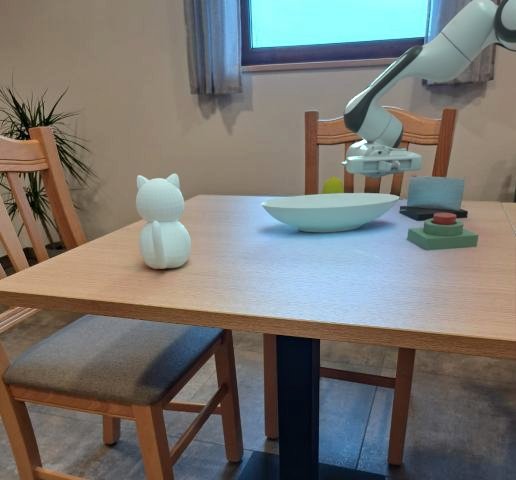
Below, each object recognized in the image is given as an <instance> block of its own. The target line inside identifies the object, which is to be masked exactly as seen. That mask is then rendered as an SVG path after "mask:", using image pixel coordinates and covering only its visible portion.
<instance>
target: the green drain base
mask: <svg viewBox="0 0 516 480" xmlns="http://www.w3.org/2000/svg"><path fill="white" fill-rule="evenodd" d="M464 223H465V222H464V221H462V220H459V219H456V221H455V224H454V225H439V224H434V223H433V218H432V219H427V220H425V221H423V227H413V228H408V229H407V239H406V240H407V241H409V242H411V243H413V244H414V245H416V246H418V247H419V248H421V249H422V250H424V251H437V250H449V249H461V248H464V249H465V248H474V247H477V245H478V241H479V234H477V233H476V232H473V231H470V230H468V229H466V228H464Z"/></svg>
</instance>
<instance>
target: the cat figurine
mask: <svg viewBox="0 0 516 480" xmlns="http://www.w3.org/2000/svg"><path fill="white" fill-rule="evenodd" d="M180 187H181V185H180V177H179V176H178V174H177V173H172V174H170V175H169V176H167V177H166V178H161V177H157V178H156V177H155V178H152V179H148V178H146V177H145V176H143V175H140V174H139V175H137V176H136V188H137V193H136V198H135V208H136V211H137V213H138V215H139V216H140V217H141V218H142V219H143V220H144V221H145V222H146V223H145V224H144V225H143V226H142V229H141V230H140V232H139V236H138V249H139V253H140V256H141V258H142V260H143V262H145V264H146V265H147V266H148V267H150V268H151V269H154V270H164V269H176V268H181V267H182V266H183V265H184V264H185V263H187V261H188V259H189V257H190V255H191V250H192V239H191V236H190V234H189V232H188V230H187V229H186V227H185V226H184V225H183V224H182V223H181V222H180V221H178V220H179V219H180V218H181V217H182V215H183V214H184V212H185V200H184V196H183V194H182V191H181V190H180Z"/></svg>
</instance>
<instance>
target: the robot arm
mask: <svg viewBox="0 0 516 480" xmlns="http://www.w3.org/2000/svg"><path fill="white" fill-rule="evenodd" d="M491 44H494V45H496V46H499V47H501V48H504V49H505V50H508V51H510V52H513V53H516V0H501V1H500V3H499V4H498V5H497V4H496V3H495V2H494V1H492V0H471V1H469V3H467V4H466V5H465V6H464V7H463V8H462V9H461V10H460V11H459V12H458V13H457V14H455V16H454V17H453V18H452V19H451V20H450V21H448V23H447V24H446V25H445V26H444V28H443V29H442V30H441V31H440V32H439V34H438V35H436V37H434V38H433V39H431V40H430V41H428V42H427V43H425V44H423V45H420V44H419V45H418V44H417V45H414V46H412V47H410V48H409V49H408V50H406V51H405V52H404V53H403V54H402V55H400V56H399V57H398V58H397V59H396V60H395V61H394V62H393V63H391V64H390V66H388V67H387V68H386V69H385V70H384V71H383V72H382V73H381V74H380V75H379V76H378V77H377V78H375V80H373V81H372V82H371V83H369V85H367V86H366V88H364V89H363V90H362V91H361V92H359V93H358V94H357V95H356V96H354V98H352V99H351V100H350V101H349V102H348V104H347V105H346V107H345V108H344V111H343V123H344V127H345V128H346V129H347V130H349V131H350V132H352V133H354V135H355V134H356V135H357V136H358V137H359V138H361V139H362V140H361V141H359V142H355V143H353V144H351V145H350V146H348V148H347V150H346V153H345V161H342V162H341V164H340V165H341V166H342V167H345V171H346V172H347V173H349V174H359V175H362V176H365V177H367V178H370V179H380V178H382V177H386V176H389V175H394V174H400V173H401V174H402V173H405V172H409V171H411V172H412V171H415V172H416V171H417V172H418V171H421V169H422V166H423V156H422V155H421V154H419V153H416V152H412V151H408V150H407V148H405V147H400V145H401V143H402V140H403V137H404V123H403V122H402V121H400V119H398V118H397V117H396V116H395V115H394V114H392V113H391V112H389V111H388V110H387V109H386V108H385V107H384V106H382V105H381V104H380V103H379V101H380V100H381V99H382V98H383V97H384V96H385V95H386V94H387V93H389V91H391V90H392V89H393V88H394V87H395V86H396V85H397V84H398V83H400V81H403V80H405V79H408V78H418V79H423V80H426V81H429V82H433V83H447V82H450V81H452V80H455V79H456V78H457V77H458V76H460V75H461V74H462V73H463V72H464V71H465V70H466V69H467V68H468V67H469V66H470V65H471V63H472V62H473V61H474V60H475V59H476V58H477V57H478V55H479V54H480V53H481V52H482V51H484V50H485V48H487V47H488V46H490V45H491Z"/></svg>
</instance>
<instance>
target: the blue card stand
mask: <svg viewBox="0 0 516 480" xmlns="http://www.w3.org/2000/svg"><path fill="white" fill-rule="evenodd" d="M465 185H466V177H454V176H453V177H451V176H428V175H425V176H424V175H418V174H411V176H409V183H408V191H407V200H406V206H407V207H412V208H425V209H439V210H452V211H459V210H460V209H462V207H461V206H462V202H463V196H464V190H465Z"/></svg>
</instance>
